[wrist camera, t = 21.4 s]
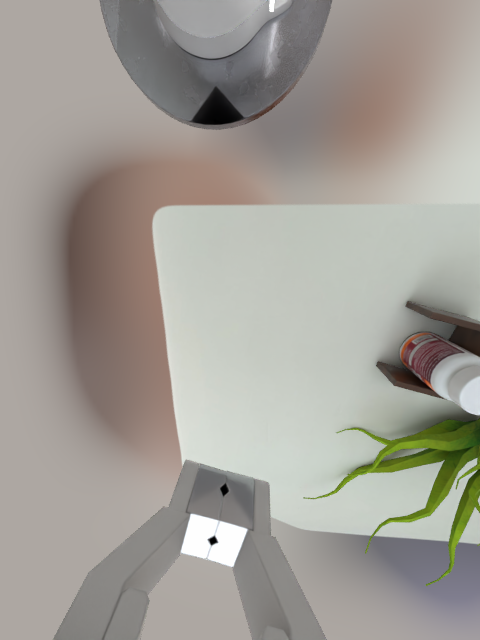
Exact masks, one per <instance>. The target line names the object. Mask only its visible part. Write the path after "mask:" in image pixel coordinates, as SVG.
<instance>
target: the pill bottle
mask: <svg viewBox="0 0 480 640" xmlns="http://www.w3.org/2000/svg"><path fill="white" fill-rule="evenodd" d="M399 355H400V359H401V361H402V363H403V364H404V365H405V366H406V367H407V368H408V369H409V370H410V371H412V372H413V373H414V374H415V375H416V376H417V377H418V378H420V379H421V380H422V381H423V382H424V383H425V384H427V385H428V386H429V387H430V388H431V389H432V390H434V391H435V392H436V393H437V394H438V395H440V396H441V397H443V398H445V399H447V400H450V401H453V402H455V403H456V404H457V405H459V406H460V407H461V408H462V409H464V410H465V411H467V412H469V413H471V414H475V415H480V357H478V356H477V355H474V354H473V353H471V352H469V351H467V350H465V349H463V348H461V347H459V346H457V345H456V344H454V343H452V342H450V341H448V340H446V339H444V338H442V337H440V336H439V335H436V334H434V333H430V332H420V333H417V334H414V335H412V336H410V337H409V338H408V339H407V340H406V341H405V342H404V343H403V344H402V346H401V348H400V354H399Z"/></svg>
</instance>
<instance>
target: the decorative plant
mask: <svg viewBox="0 0 480 640" xmlns="http://www.w3.org/2000/svg"><path fill="white" fill-rule="evenodd" d="M345 430H359V431H362V432H364V433H366V434H367V435H369V436H370V437H372V438H373V439H375V440H377V441H379V442H381V443H383V444H385V445H387V446H386V447H385V448H384V449H383V450H381V451H380V452H379V454H378V456H377V458H376V460H375V461H374V463H373V464H371V465H367V466H363V467H359V468H358V469H356V470H355V471H354V472H352V473H351V474H347V475H348V476H347V477H345V478H344V479H343V481H342V482H341V483H340V484H339V485H338V487H337V488H336V489H335V490H334V491H332V492H330V493H329V494H326V495H323V496H320V497H317V498H322V497H327V496H330V495H332V494H334V493H337V492H338V491H339V490H340V489H341V488H342V487H343V486H344V485H345V484H346V483H347V482H349V481H350V480H352V479H354V478H355V477H357V476H358V475H363V474H367V473H384V472H395V471H400V470H404V469H408V468H413V467H417V466H421V465H426V464H431V463H437V462H441V461H443V460H445V461H444V463H443V464H442V467H441V469H440V471H439V473H438V475H437V478H436V480H435V482H434V485H433V488H432V490H431V493H430V496H429V499H428V502H427V505H426V508H424V509H422V510H420V511H417V512H415V513H413V514H410V515H408V516H402V517H395V518H389V519H387V520H386V521H384V522H383V523H381V524H380V525H379V526H378V528H377V529H376V530H375V532H374V533H373V535H372V536H371V538H372V537H373V536H374V535H375V534H376V532H377V531H378V530H379V529H380V528H381V527H382V526H384V525H386V524H388V523H390V522H412V521H415V520H418V519H421V518H424V517H427V516H430V515H431V514H432V513H433V512H434V511H435V509H436V508H437V507H438V506H439V505H440V503H441V502H442V501H443V500H444V499H445V497H446V496H447V495H448V494H449V491H450V489H451V487H452V485H453V483H454V480H455V478H456V476H457V474H458V472H459V471H460V470H461V469H462V468H463V467H464V466H465V465H466V463H467V462H469V461H471V460H473V459H475V458H477V457H478V460H477V465H476V466H474V467H473V468H471V469H470V470H469V471H467V472H466V473H465V474H464V475H462V476H461V477H460V478H459V479H461V478H463V477H465V476H466V475H468V474H470V473H472V472H473V471H476V470H478V471H477V472H476V473H475V474H474V475H473V476H472V477H471V478H470V479H469V480H468V482H467V485H466V487H465V490H464V492H463V495H462V497H461V500H460V502H459V506H458V509H457V512H456V515H455V518H454V522H453V525H452V529H451V534H450V539H449V545H448V546H449V555H450V564H449V569H448V570H447V571H446V572H445V573H444V574H443V575H442V576H441V577H440V578H439V579H437V580H435V581H433V582H431V583H428V584H426V586H427V585H430V584H432V583H434V582H436V581H439V580H440V579H441V578H443V577H444V576H446V575H447V574H448V573H450V572H451V569H452V567H453V564H454V556H455V548H456V545H457V543H458V541H459V539H460V537H461V535H462V533H463V531H464V529H465V527H466V525H467V523H468V521H469V518H470V516H471V514H472V512H473V510H474V508H475V507H476V508H477V510H478V511H479V513H480V506H479V503H478V498H479V496H480V418H479V419H478V420H475V421H468V422H463V421H456V420H450V419H448V420H446V421H444V422H441V423H439V424H437V425H434V426H432V427H430V428H428V429H426V430H424V431H421V432H419V433H417V434H415V435H411V436H407V437H403V438H399V439H395V440H392V441H390V440H387V439H384V438H381V437H378V436H375V435H373V434H371V433H369V432H367V431H365V430H363V429H359V428H351V429H345ZM342 431H344V430H342ZM342 431H339V432H342ZM339 432H337V433H339ZM414 448H428V449H426V450H423V451H421V452H418V453H416V454H412V455H408V456H404V457H399V458H395V459H391V460H386V461H382V462H381V460H382V459H383V458H384V456H387V455H389V454H391V453H394V452H396V451H398V450H400V449H414ZM459 479H458V481H457V485H456V489H457V486H458V482H459ZM303 498H304V497H303ZM317 498H306V499H317ZM371 538H370V540H369V543H370V541H371ZM369 543H368V546H369ZM479 545H480V544H479ZM368 546H367V549H368ZM367 549H366V552H367ZM366 552H365V553H366Z"/></svg>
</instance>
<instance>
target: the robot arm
mask: <svg viewBox="0 0 480 640" xmlns="http://www.w3.org/2000/svg"><path fill="white" fill-rule="evenodd" d="M153 1H154V4H155V7H156V10H157V13H158V16H159V18H160V20H161V22H162V24H163V26H164V28H165V30H166V31H167V33H168V34H169V35H170V37H171V38H172V39H173V40H174V41H175V42H176V43H177V44H178V45H179V46H180V47H181V48H183V49H184V50H185V51H187V52H189V53H191V54H193V55H195V56H198V57H202V58H208V59H215V58H222V57H226V56H228V55H231V54H233V53H235V52H237V51H238V50H240V49H241V48H243V47H244V46H245V45H246V44H247V43H249V42H250V41H251V39H252V38H253V37H254V36H255V35H256V34H257V32H258V31H259V30H260V29H261V27H262V26H263V25H264V24H265V23H266V22H267V21H269V20H271V19H273V18H275V17H276V16H278V15H280V14H282V13H283V12H285V11H286V10H287V9H288V8H289V7H290V6H291V4H292V2H293V0H153ZM199 465H200V466H199ZM180 553H182V554H187V555H190V556H195V557H199V558H203V559H207V560H210V561H213V562H217V563H220V564H223V565H226V566H229V567H233V572H234V576H235V580H236V583H237V586H238V590H239V594H240V597H241V601H242V604H243V608H244V611H245V615H246V619H247V622H248V625H249V629H250V633H251V636H252V640H327V639H326V637H325V635H324V633H323V631H322V629H321V627H320V625H319V623H318V621H317V619H316V617H315V615H314V613H313V611H312V609H311V607H310V605H309V603H308V601H307V599H306V597H305V595H304V593H303V591H302V589H301V587H300V585H299V583H298V581H297V579H296V577H295V575H294V573H293V571H292V569H291V567H290V565H289V563H288V561H287V559H286V558H285V555H284V553H283V552H282V550H281V547H280V545H279V544H278V541H277V540H276V538H275V537H273V536H271V523H270V489H269V483H268V482H265V481H262V480H258V479H255V478H252V477H248V476H244V475H240V474H237V473H233V472H229V471H227V472H226V471H223V470H220V469H217V468H213V467H210V466H207V465H204V464H200V463H197V462H193V461H190V460H186V461H185V463H184V465H183V468H182V471H181V473H180V477H179V479H178V482H177V485H176V488H175V490H174V493H173V496H172V499H171V502H170V504H169V507H163V508H162V509H161V510H159V511H158V512H157V513H156V514H155V515H154V516H152V517H151V518H150V519H149V520H148V521H147V522H146V523H145V524H143V525H142V526H141V527H140V528H139V529H138V530H137V531H135V533H133V534H132V535H131V536H130V537H129V538H127V539H126V540H125V541H124V542H123V543H122V544H121V545H120V546H118V547H117V548H116V549H115V550H114V551H113V552H112V553H110V554H109V555H108V556H107V557H106V558H105V559H104V560H103V561H101V562H100V563H99V564H98V565H97V566H96V567H95V568H93V569H92V570H91V571H90V572H89V573H88V575H87V577H86V579H85V580H84V582H83V584H82V586H81V588H80V590H79V592H78V594H77V595H76V597H75V599H74V601H73V603H72V605H71V607H70V608H69V610H68V612H67V614H66V616H65V618H64V620H63V622H62V624H61V625H60V627H59V629H58V631H57V633H56V635H55V637H54V639H53V640H140V639H141V635H142V631H143V626H144V622H145V618H146V614H147V609H148V605H149V598H148V594H149V593H150V592H151V591H152V589H153V588H154V587H155V586H156V584H157V583H158V582H159V581H160V579H161V578H162V577H163V576H164V574H165V573H166V572H167V571H168V569H169V568H170V567H171V566H172V564H173V563H174V562H175V560H176V559H177V558H178V557H179V556H180Z"/></svg>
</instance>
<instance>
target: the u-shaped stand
mask: <svg viewBox="0 0 480 640" xmlns="http://www.w3.org/2000/svg"><path fill="white" fill-rule="evenodd" d="M405 307H407V308H409V309H412V310H414V311H416V312H418V313H420V314H422V315H425V316H427V317H429V318H432V319H436V320H439V321H443V322H447V323H451V324H454V325H457V327H456V329H455V331H454V332H453V334H452V336H451V338H450V339H449V341H450V342H452V343H454V344H456V345H457V346H459V347H461V348H463V349H465V350H467V351H469V352H471V353H473V354H474V355H477V356H478V357H480V321H477V320H474V319H471V318H469V317H465V316H461V315H458V314H454V313H450V312H446V311H442V310H439V309H435V308H431V307H427V306H424V305H420V304H416V303H412V302H409V301H408V302H407V304H406V306H405ZM376 366H377V367H378V368H379V369H380V371H381V372H382V373H383V374H384V375H385V376H386V377H387V378H388V379H389V381H390V382H391V383H392V384H393V385H394V386H398V387H401V388H405V389H409V390H413V391H416V392H420V393H424V394H428V395H431V396H435V397H439V398H442V399H445V398H443V397H441V396H440V395H438V394H437V393H436V392H435V391H434V390H432V389H431V388H430V387H429V386H428V385H427V384H425V383H424V382H423V381H422V380H421V379H420V378H418V377H417V376H416V375H415V374H414V373H413V372H412V371H410V370H408V369H404V368H400V367H397V366H393V365H389V364H386V363H382V362H378V363H377V365H376ZM446 400H447V399H446Z"/></svg>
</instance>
